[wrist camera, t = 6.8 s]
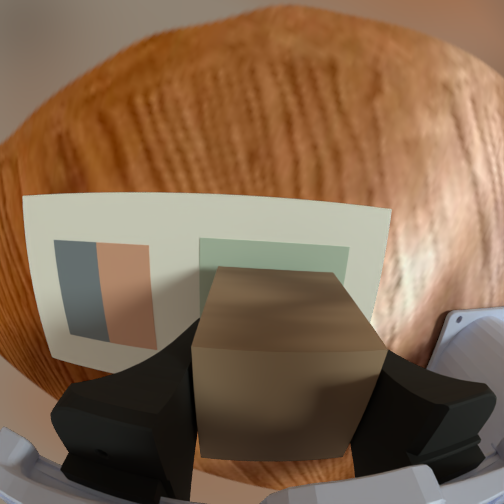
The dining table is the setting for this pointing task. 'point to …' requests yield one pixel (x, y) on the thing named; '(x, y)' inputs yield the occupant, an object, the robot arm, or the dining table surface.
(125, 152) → the dining table surface
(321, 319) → the walnut block
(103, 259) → the placemat
